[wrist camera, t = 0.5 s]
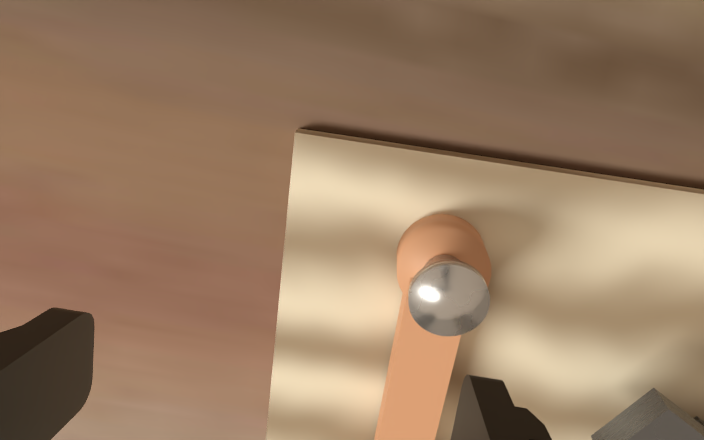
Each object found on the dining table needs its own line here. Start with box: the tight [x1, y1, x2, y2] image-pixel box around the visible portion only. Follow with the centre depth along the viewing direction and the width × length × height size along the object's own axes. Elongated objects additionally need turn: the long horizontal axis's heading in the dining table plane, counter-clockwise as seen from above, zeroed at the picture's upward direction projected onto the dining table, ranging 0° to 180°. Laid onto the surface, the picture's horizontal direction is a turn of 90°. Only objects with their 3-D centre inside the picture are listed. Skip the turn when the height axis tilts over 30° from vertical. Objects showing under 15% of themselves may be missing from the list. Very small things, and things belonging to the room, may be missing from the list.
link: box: [374, 214, 491, 440], centre depth 28 cm, size 18×4×2 cm, turn 172°
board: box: [266, 128, 704, 440], centre depth 30 cm, size 26×28×1 cm
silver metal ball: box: [408, 254, 490, 336], centre depth 23 cm, size 3×3×3 cm
